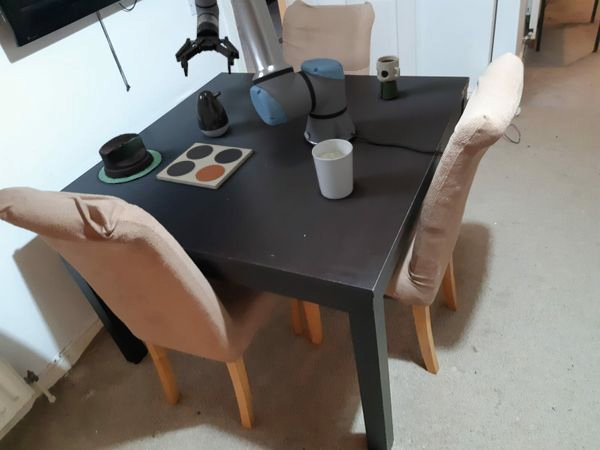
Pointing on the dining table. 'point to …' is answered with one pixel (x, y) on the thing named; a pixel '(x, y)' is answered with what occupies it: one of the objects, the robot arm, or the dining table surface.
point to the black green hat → (126, 158)
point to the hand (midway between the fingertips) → (207, 72)
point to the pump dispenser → (211, 114)
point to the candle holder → (334, 167)
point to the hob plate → (205, 165)
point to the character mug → (388, 75)
